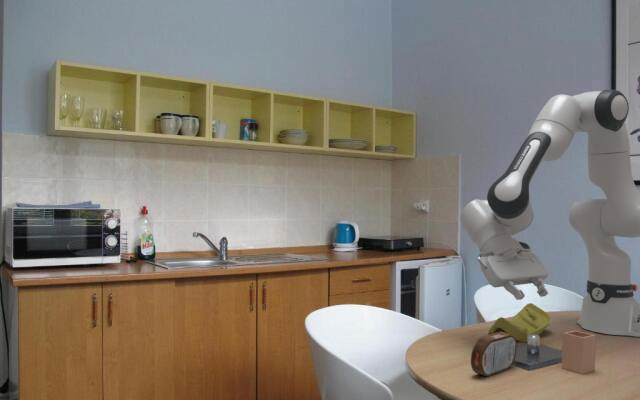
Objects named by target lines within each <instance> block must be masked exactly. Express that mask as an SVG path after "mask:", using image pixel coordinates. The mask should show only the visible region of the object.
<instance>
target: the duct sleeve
mask: <svg viewBox="0 0 640 400" xmlns="http://www.w3.org/2000/svg"><path fill="white" fill-rule="evenodd" d="M596 344H597V335H596V334H592V333H587V332H583V331H579V330H576V329H575V330H570V331H566V332H562V344H561V346H562V347H561V350H562V362H561V369H565V370H569V371H571V372H575V373H578V374H581V375H584V374H588V373H590V372H594V371H596V346H597V345H596Z"/></svg>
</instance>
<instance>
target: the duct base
mask: <svg viewBox="0 0 640 400" xmlns="http://www.w3.org/2000/svg"><path fill="white" fill-rule="evenodd" d="M540 339H541V336H540V334H539V335H535V334H528V336H527V342H523V343H520V344H519V343H518V344H517V345H516V354H515V360H514V362H513V364H512V366H515V367H518V368H521V369H523V370H527V371H532V370H537V369H540V368H544V367H548V366H552V365H555V364H556V365H557V364H560V363H562V349H559V348H555V347H552V346H548V345H544V344H541V340H540Z"/></svg>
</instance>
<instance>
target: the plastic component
mask: <svg viewBox="0 0 640 400" xmlns="http://www.w3.org/2000/svg"><path fill="white" fill-rule="evenodd" d="M551 322H552V318H551V316H550V315H549V314H548V313H547V312H546V311H545V310H543V309H542V308H540V307H539V306H537V305H535V304H534V303H527V304H525V306H524V307H523V308H522V309H521V310H520V311H518V312H517V313H516V314H515V315H514V316H512V318H510V319H509V320H508V319H506V318H505V317H502V316H501V317H498V318H497V319H496V321H494V323H493V324H492V325H491V327H490V328H489V330H488V335H489V334H493V333H497V332H502V331H503V332H505V333H507V334H510V335H512V336H514V337H515V339H516V341H519V342H522V343H527V336H528V334H535V335H539V336H540V335H541V334H542V333H543V331H544V330H545V329H546V328H547V327H548V326H550V324H551Z"/></svg>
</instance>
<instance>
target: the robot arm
mask: <svg viewBox="0 0 640 400" xmlns="http://www.w3.org/2000/svg"><path fill="white" fill-rule="evenodd" d="M629 107H630V106H629V102H628V99H627V97H626V96H625V94H623V92H621V91H620V90H616V89H604V90H596V91H595V90H594V91H587V92H586V91H585V92H582V93H579V94H575V95H568V94H563V93H561V94H555V95H554V96H552V97H550V98H549V99H548V101H546V102H545V104H544V106H543V107H542V108H541V110H540V112H539V113H537V114H538V115H537V116H536V118H535V120H534V122H533V123H532V125H531V127H530V130H529V132H528V134H527V136H526V138H525V140H524V142H522V145H521V146H520V147H519V149H518V151H517V152H516V154H515V156H514V157H513V159H512V162H511V163H510V164H509V166H508V168H507V169H506V171H505V172H504V173H503V174H501V176H500V177H499V178H498V179H496V181H494V182H493V183H492V184H491V186H490V187H489V188H488V191H487V194H486V199H478V198H475V199H473V200H471V201H469V202H467V204H466V205H464V207H463V208H462V210H461V212H460V215H459V217H460V222H461V224H462V227H463V228H464V230H465V232H466V234H467V235H468V237H469V238H470V240H471V241H472V242H473V243H474V244H475V245H476V246H477V247H478V251H479V254H478V256H477V261H478V264H479V266H480V270H481V272H482V273H483V276H484V277H485V279H486V281H487V282H488V284H489V285H490V286H491V287H493V288H502V287H503V288H504V289H505V291H506V292H508V293H509V294H511V295H513V297H514V299H515V300H517V301H520V300H522V299H524V298H525V295H526V294H525V293H524V292H523V291H522V289H519V288H517V287H516V286H521V285H529V284H532V285H533V286H534V287H536V289H537V291H536V293H537V295H538V296H539V297H541V298H543V297H546V296H547V295H548V294H549V292H548V290H547V289H546V286H545V282H544V280H545V279H546V278H547V277H548V276H549V272H548V270H547V268H546V266H545V265H544V264H543V262H542V261H541V260H540V258H539V257H538V256H537V255H536V254H535V253H534V252H532V250H533V249H532V246H531V245H530V244H529V243H527V242H523V241H521V240H518V239H516V238H514V237H512V236H514V235H515V234H518V233H520V232H522V231H524V230H526V229H527V228H529V227H530V225H531V224H532V222H533V220H534V211H533V206H532V203H531V198H530V184H531V181H532V180H533V177H534V176H535V174H536V172H537V170H538V169H539V167H540V165H541V163H542V162H543V161H545V162H551V161H552V162H553V161H557V160H559V159H561V157H563V156H564V154H565V153H566V151H567V150H568V149H569V146H570V145H571V142H572V141H573V139H574V136H575V134H576V133H585V132H586V133H587V135H588V136H587V165H588V166H587V168H588V178H589V180H590V183H592V184H593V185H595V186H597V187H599V188H600V189H601V191H603V194H604V195H605V197H606V198H587V199H582V200H578V201H575V202H574V203H573V204H572V205H571V207H570V209H569V211H568V221H569V224H570V225H571V228H573V230H574V231H576V233H578V234H579V236H580V237H581V239H582V241H583V243H584V245H585V248H586V250H587V256H588V280H587V281H586V287H585V288H586V293H587V294H586V295H585V296H583V298H582V304H581V312H580V319H577V320H576V324H578V325H580V327H581V328H583V329H585V330H587V331H590V332H594V333H600V334H605V335H613V336H627V337H628V336H629V337H639V338H640V304H639V303H638V301H637V300H636V299H635V297H634V296H635V295H634V292H637V291H638V285H637V284H632V283H631V275H632V261H631V257H630V255H629V254H628V253H627V252H626V251H624V250H622V249H621V248H620V247H619V246H618V244H617V243H616V240H615V237H618V238H619V237H620V238H631V239H633V238H634V239H636V238H640V191H639V189H638V188H637V186H636V184H635V182H634V178H633V175H632V174H633V172H632V167H631V166H632V165H631V164H632V163H631V162H632V161H631V147H630V140H629V134H628V129H627V125H626V122H625V121H627V118H628V116H629V110H630V108H629Z"/></svg>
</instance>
